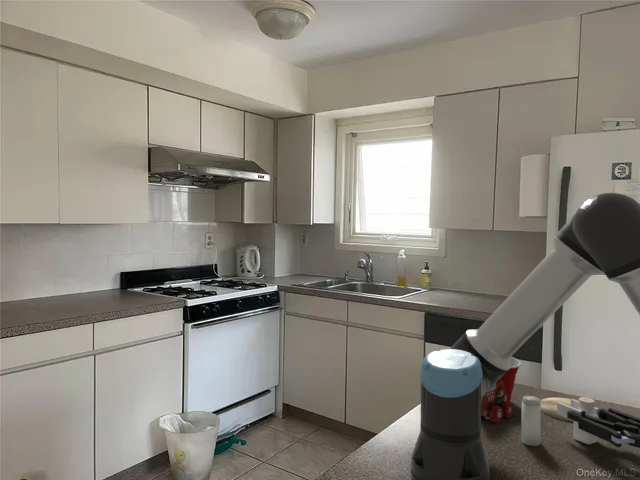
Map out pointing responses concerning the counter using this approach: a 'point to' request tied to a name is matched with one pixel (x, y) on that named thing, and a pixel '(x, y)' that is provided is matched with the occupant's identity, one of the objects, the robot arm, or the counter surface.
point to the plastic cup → (510, 376)
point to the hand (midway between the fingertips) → (565, 406)
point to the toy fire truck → (496, 403)
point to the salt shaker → (531, 421)
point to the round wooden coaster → (554, 407)
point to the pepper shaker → (588, 407)
